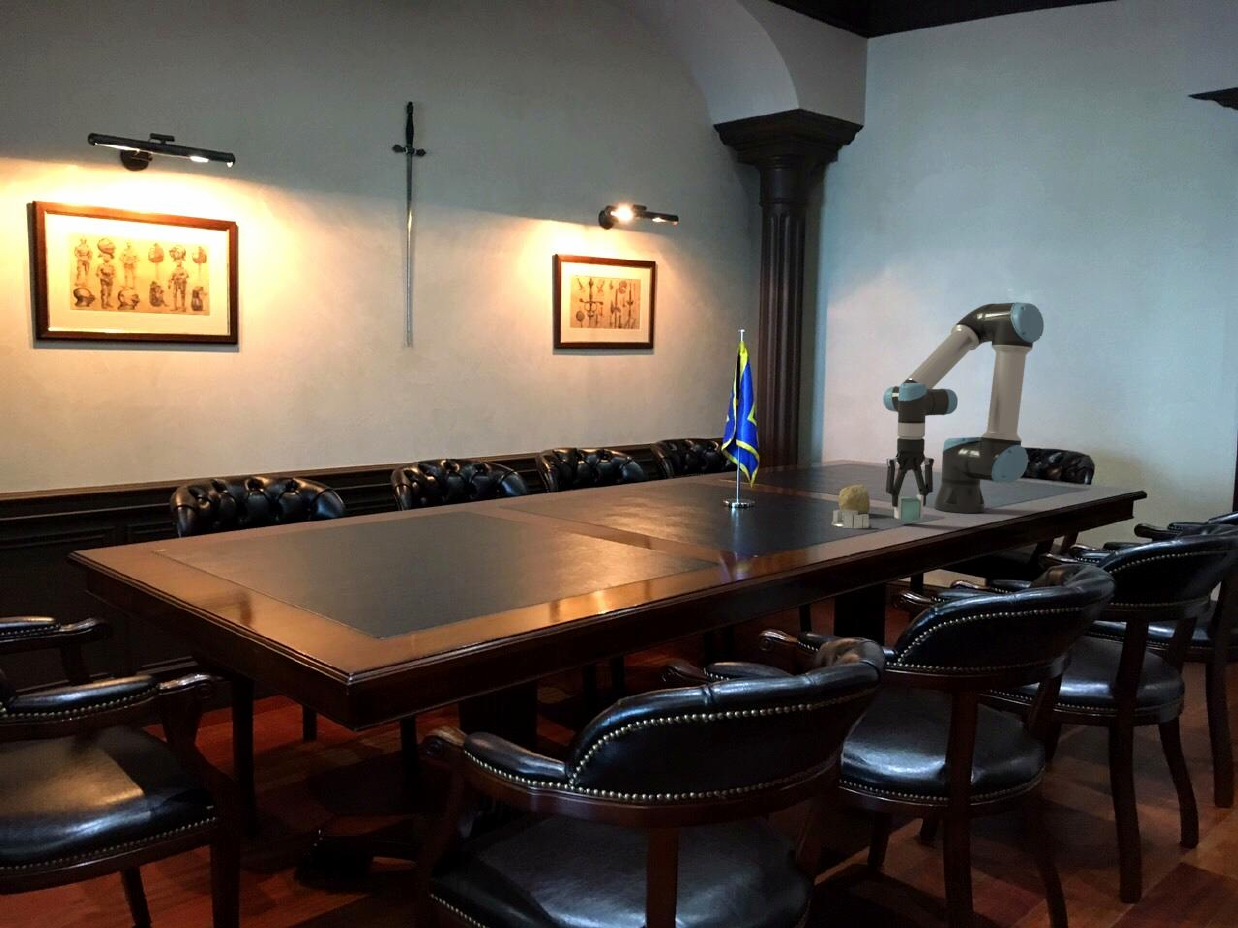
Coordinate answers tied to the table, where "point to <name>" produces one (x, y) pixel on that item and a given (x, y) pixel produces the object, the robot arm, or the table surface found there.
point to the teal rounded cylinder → (910, 508)
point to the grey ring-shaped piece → (850, 519)
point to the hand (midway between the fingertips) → (908, 517)
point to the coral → (854, 499)
